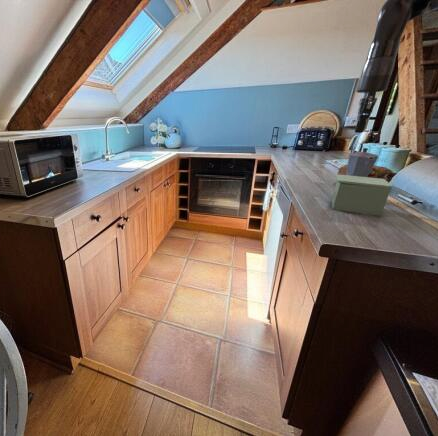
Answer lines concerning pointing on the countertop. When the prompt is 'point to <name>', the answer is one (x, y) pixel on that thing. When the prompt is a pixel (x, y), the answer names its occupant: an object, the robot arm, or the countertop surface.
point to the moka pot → (361, 163)
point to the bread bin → (359, 198)
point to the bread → (372, 172)
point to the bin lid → (363, 181)
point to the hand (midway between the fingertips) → (358, 132)
